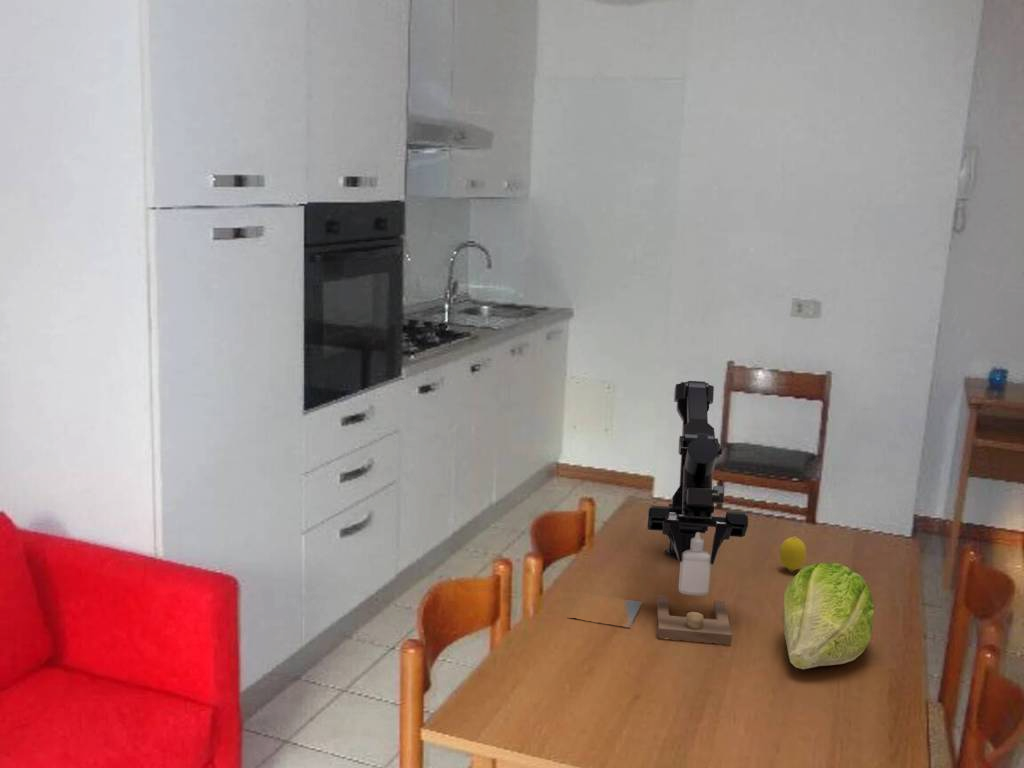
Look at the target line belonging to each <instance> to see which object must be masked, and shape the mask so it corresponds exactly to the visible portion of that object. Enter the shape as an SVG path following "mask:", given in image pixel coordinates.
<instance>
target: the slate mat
mask: <svg viewBox="0 0 1024 768" xmlns="http://www.w3.org/2000/svg"><path fill="white" fill-rule="evenodd" d="M624 601H625V600H624ZM626 601H627V602H626V603H627V604H626V603H625V604H626V606H627V607H626V606H625V605H624V606H625V608H624V609H626V611H627V613H628V612H629V613H628V614H627V615H629V616H628V617H630V618H631V620H630V618H628V619H629V622H630V623H629V626H628V624H627V626H628V627H630V626H631V624H632V625H633V623H634V621H635V619H636V617H637V615H638V613H639V611H640V609H641V607H642V605H643V601H638V600H637V601H636V600H631V599H626ZM641 604H642V605H641ZM624 606H623V607H624ZM639 608H640V609H639ZM638 610H639V611H638ZM637 612H638V613H637ZM636 614H637V615H636ZM635 616H636V617H635ZM634 618H635V619H634ZM628 619H627V620H628ZM633 620H634V621H633ZM631 621H632V622H633V623H632V622H631ZM631 627H632V626H631Z"/></svg>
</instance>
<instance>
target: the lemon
mask: <svg viewBox="0 0 1024 768" xmlns="http://www.w3.org/2000/svg"><path fill="white" fill-rule="evenodd" d="M779 558H780V559H779V560H780V562H781V564H782V565H783V567H785V568H786V569H788V571H790V572H794V571H795V570H799V569H801V568H802V567H803V566H804V565H805V563H806V559H807V548H806V545H805V543H804V542H803V541H802V540H801V539H800V538H798V537H797V535H795V536H794V535H793V536H792V537H789V538H787V539H785V540H784V541H783V542H782V543H781V546H780V549H779Z"/></svg>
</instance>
